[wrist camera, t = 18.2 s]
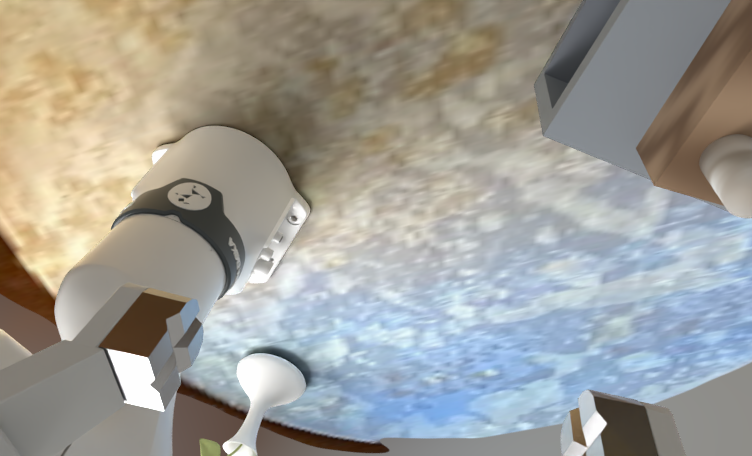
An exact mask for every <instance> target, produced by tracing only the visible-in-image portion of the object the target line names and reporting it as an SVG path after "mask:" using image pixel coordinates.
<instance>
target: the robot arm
mask: <svg viewBox="0 0 752 456" xmlns="http://www.w3.org/2000/svg"><path fill="white" fill-rule="evenodd" d="M152 161H153V166H152V168H151V169H150V170H149V171H148V172H147V173H146V174H145V176H144V177H143V178H142V179H141V180H140V181H139V182H138V184H137V185H136V186H135V187H134V188H133V190H132V192H131V196H132V197H133V202H131V203H129V204H128V205H127V206H126V207H125V208H124V210H123V211H122V212H121V214H120V215H119V217H118V218H117V219H116V220H115V221H114V223H113V225H112V227H111V231H110V232H109V233H108V234H107V235H106V236H105V237H104V238H103V239H102V240H101V241H100V242H99V243H98V244H97V245H96V246H95V247H94V248H93V249H91V250H90V251H89V252H88V253H87V254H86V255H85V256H84V257H83V258H82V259H81V260H80V261H79V262H78V263H77V264H76V265H75V266H74V267H73V268H72V269H71V270H70V271H69V272H68V273H67V274H66V276H65V277H64V279H63V281H62V283H61V285H60V288H59V291H58V294H57V297H56V302H55V319H56V323H57V327H58V330H59V333H60V336H61V340H62V341H61V342H59V343H57V344H55V345H53V346H51V347H48V348H46V349H44V350H42V351H40V352H38V353H36V354H32V353H31V352H29V351H28V350H27V349H26V348H24V347H23V346H22V345H21V344H19V343H18V342H17V341H16V340H14V339H13V338H12V337H11V336H9V335H8V334H7V333H6V332H4V331H3V330H2V329H0V456H173V454H172V425H173V412H174V405H175V398H176V392H177V389H178V388H179V386H180V384H181V381H180V374H181V372H182V371H184V370H185V369H187V368H189V367H191V366H192V364H193V363H194V361H195V359H196V357H197V356H198V353H199V350H200V347H201V345H202V342H203V326H202V324H203V323H204V321H205V319H206V317H207V316H208V314H209V312H210V311H211V309H212V307H213V305H214V304H215V302H216V301H217V300H219V299H220V298H222V297H223V296H224V295H233V294H238V293H241V292H242V291H243V289H244V287H245V286H246V284H247V283H265V282H266V281H267V280H268V279H269V278H270V276H271V275H272V273H273V272H274V270H275V268H276V267H277V265H278V264H279V262H280V260H281V259H282V257H283V256H284V254H285V252H286V251H287V249H288V248H289V246H290V244H291V243H292V241H293V240H294V238H295V236H296V235H297V233H298V231H299V230H300V228H301V227H302V225H303V223H304V222H305V220H306V219H307V217H308V215H309V214H310V207H309V205H308V204H307V202H306V201H305V200H304V199H303V198H302V196H301V195H300V194H299V193H298V192H297V191H296V190H295V188H294V187H293V185H292V182H291V180H290V177H289V175H288V173H287V171H286V169H285V167H284V166H283V164H282V163H281V161H280V160H279V159H278V157H277V156H276V155H275V154H274V153H273V152H272V151H271V150H270V149H269V148H268V147H267V146H266V145H264V144H263V143H262V142H260V141H259V140H257V139H256V138H254V137H252V136H251V135H249V134H247V133H245V132H242V131H240V130H237V129H234V128H230V127H224V126H205V127H201V128H198V129H195V130H193V131H191V132H189V133H188V134H186V135H185V136H184V137H183V138H182V139H181V140H179V141H178V142H176V143H172V144H166V145H162V146H159V147H158V148H156V150H155V151H154V152H153V154H152ZM294 216H296V217H297V218H295V217H294ZM578 403H579V408H576V409H574V410H571V411H569V413H568V415H567V416H566V418H565V420H564V423H563V427H562V431H561V452H562V456H686V454H685V451H684V448H683V445H682V442H681V439H680V436H679V433H678V430H677V427H676V424H675V421H674V418H673V414H672V413H671V412H670V411H669V409H668V408H666V407H662V406H658V405H653V404H649V403H644V402H639V401H637V400H634V399H630V398H625V397H620V396H616V395H611V394H607V393H602V392H597V391H593V390H586V391H583V392H582V394H581V395H580V396H579V398H578Z"/></svg>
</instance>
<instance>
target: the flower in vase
mask: <svg viewBox="0 0 752 456" xmlns="http://www.w3.org/2000/svg"><path fill="white" fill-rule="evenodd" d="M237 377H238V379H239V382H240V384H241V386H242V387H243V389H244V391H245V392H246V393H247V395H248V396H249V398H250V400H251V407H250V410H249V413H248V415H247V417H246V419H245V421H244V423H243V425H242V426H241V428H240V430H239V431H238V433H237V434H236V435H235V436H234V437H233V438H231V439H230V440H228V441H227V442H225V443H224V445H223V449H224V450H225V451H226V452H227V453H228V454H229V455H227V456H257V451H256V437H257V432H258V429H259V426H260V423H261V420H262V418H263V416H264V414H265V413H266V411H267V410H268V409H269V408H271V407H274V406H279V405H284V404H288V403H290V402H293V401H295V400H297V399H299V398H300V397H301V396H302V394H303V393H304V392H305V390H306V382H305V379H304V376H303V374H302V373H301V371H300V370H299V369H298V368H297V367H296V366H295V365H293V364H292V363H290V362H289V361H287V360H285V359H283V358H281V357H278V356H275V355H271V354H265V353H256V354H251V355H248V356H247V357H245V358H243V359H242V360H240V362H239V363H238V366H237ZM200 450H201V456H220V445H219V444H218V443H216V442H214V441H210V440H206V439H200Z"/></svg>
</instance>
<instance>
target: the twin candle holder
mask: <svg viewBox="0 0 752 456" xmlns="http://www.w3.org/2000/svg"><path fill="white" fill-rule="evenodd" d="M636 150H637V152H638V154H639V156H640V158H641V160H642V162H643V164H644V166H645V168H646V170H647V172H648V174H649V176H650V178H651V180H652V182H653V185H654V186H657V187H661V188H664V189H668V190H671V191H674V192H678V193H681V194H685V195H688V196H692V197H695V198H698V199H702V200H705V201H709V202H712V203H716V204H719V205H722V206H725V207H726V209H727V210H728V211H729V212H730V213H731V214H733V215H735V216H737V217H741V218H752V0H731V1H730V3H729V4H728V6H727V7H726V9H725V11H724V12H723V14H722V15H721V17H720V18H719V20H718V21H717V23H716V25H715V26H714V28H713V29H712V31H711V32H710V34H709V35H708V37H707V38H706V40H705V42H704V43H703V45H702V46H701V48H700V49H699V51H698V52H697V54H696V56H695V57H694V59H693V60H692V62H691V63H690V65H689V66H688V68H687V69H686V71H685V73H684V74H683V76H682V77H681V79H680V80H679V82H678V83H677V85H676V87H675V88H674V90H673V91H672V93H671V94H670V96H669V97H668V99H667V100H666V102H665V104H664V105H663V107H662V108H661V110H660V111H659V113H658V114H657V116H656V117H655V119H654V121H653V122H652V124H651V125H650V127H649V128H648V130H647V131H646V133H645V135H644V136H643V138H642V139H641V141H640V142H639V144H638V145H637V147H636Z"/></svg>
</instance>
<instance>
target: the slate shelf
mask: <svg viewBox="0 0 752 456" xmlns="http://www.w3.org/2000/svg"><path fill="white" fill-rule="evenodd" d="M730 1H731V0H583V1H582V3H581V4H580V6H579V8H578V10H577V11H576V13H575V15H574V17H573V18H572V20H571V22H570V24H569V25H568V27H567V29H566V30H565V32H564V34H563V36H562V37H561V39H560V41H559V43H558V44H557V46H556V48H555V49H554V51H553V53H552V55H551V56H550V58H549V60H548V62H547V63H546V65H545V67H544V69H543V70H542V72H541V74H540V75H539V77H538V79H537V81H536V82H535V84H534V88H535V93H536V99H537V105H538V111H539V116H540V122H541V128H542V134H543V136H545V137H547V138H550V139H552V140H555V141H557V142H559V143H562V144H564V145H567V146H569V147H572V148H574V149H577V150H579V151H581V152H584V153H586V154H589V155H591V156H594V157H596V158H599V159H601V160H603V161H606V162H608V163H611V164H613V165H616V166H618V167H620V168H623V169H625V170H628V171H630V172H633V173H635V174H638V175H640V176H642V177H645V178H647V179H650V180H651V178H650V176H649V174H648V172H647V170H646V168H645V166H644V164H643V162H642V160H641V158H640V156H639V154H638V152H637V150H636V147H637V145H638V144H639V142H640V141H641V139H642V138H643V136H644V135H645V133H646V131H647V130H648V128H649V127H650V125H651V124H652V122H653V121H654V119H655V117H656V116H657V114H658V113H659V111H660V110H661V108H662V107H663V105H664V104H665V102H666V100H667V99H668V97H669V96H670V94H671V93H672V91H673V90H674V88H675V87H676V85H677V83H678V82H679V80H680V79H681V77H682V76H683V74H684V73H685V71H686V69H687V68H688V66H689V65H690V63H691V62H692V60H693V59H694V57H695V56H696V54H697V52H698V51H699V49H700V48H701V46H702V45H703V43H704V42H705V40H706V38H707V37H708V35H709V34H710V32H711V31H712V29H713V28H714V26H715V25H716V23H717V21H718V20H719V18H720V17H721V15H722V14H723V12H724V11H725V9H726V7H727V6H728V4H729V3H730ZM691 197H692V196H691ZM694 198H695V197H694ZM696 199H698V198H696ZM699 200H701V201H704V202H706V203H708V204H711V205H713V206H716V207H718V208H721V209H723V210H725V211H728V210H727V209H726V207H725V206H722V205H719V204H716V203H712V202H709V201H705V200H702V199H699ZM728 212H729V211H728Z"/></svg>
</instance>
